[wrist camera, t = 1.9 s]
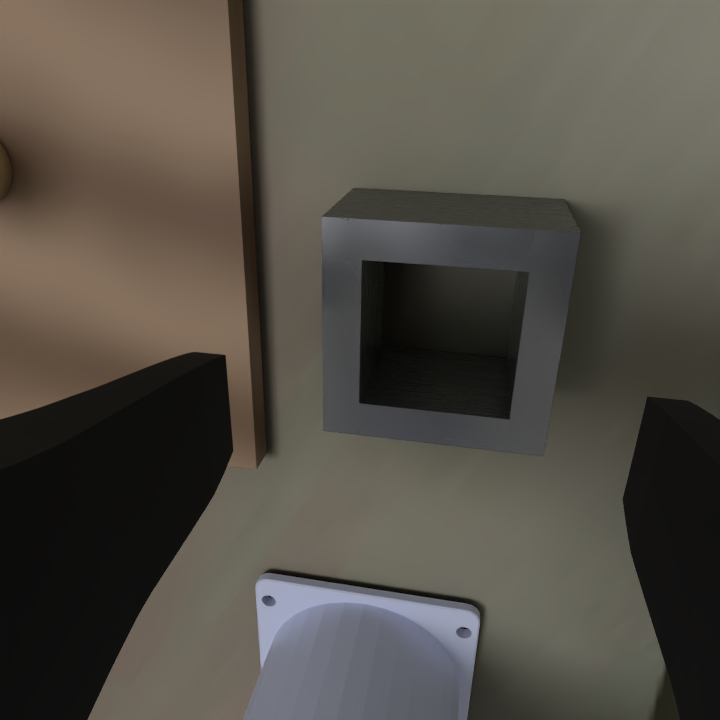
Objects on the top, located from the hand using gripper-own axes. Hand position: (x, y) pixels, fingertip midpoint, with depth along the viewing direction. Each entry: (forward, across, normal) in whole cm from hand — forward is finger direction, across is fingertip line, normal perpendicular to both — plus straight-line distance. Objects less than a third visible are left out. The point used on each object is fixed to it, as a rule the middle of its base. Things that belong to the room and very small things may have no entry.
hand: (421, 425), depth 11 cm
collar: (+7, 0, 0) cm, 7 cm away
